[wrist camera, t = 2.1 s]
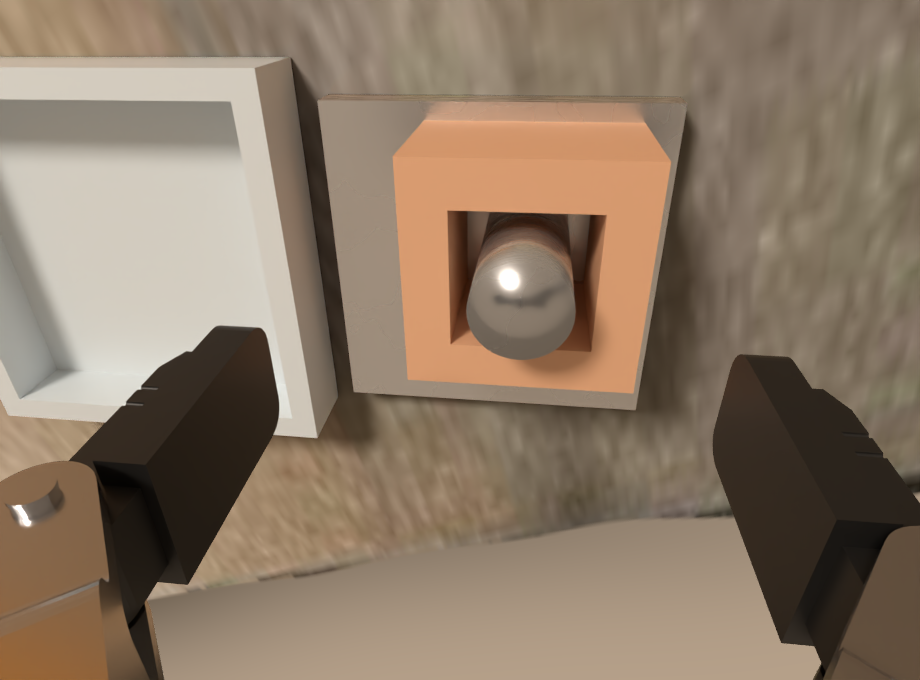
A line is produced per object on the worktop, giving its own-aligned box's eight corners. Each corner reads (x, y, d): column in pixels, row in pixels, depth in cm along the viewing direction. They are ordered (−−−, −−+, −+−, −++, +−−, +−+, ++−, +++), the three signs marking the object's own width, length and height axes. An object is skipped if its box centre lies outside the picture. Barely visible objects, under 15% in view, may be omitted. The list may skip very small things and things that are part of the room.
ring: (645, 123, 16) (671, 161, 13) (618, 319, 19) (633, 393, 16) (424, 120, 17) (392, 156, 13) (431, 310, 20) (407, 379, 17)
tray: (290, 57, 17) (254, 68, 15) (338, 396, 24) (317, 438, 21) (-83, 56, 19) (-164, 66, 17) (54, 377, 25) (8, 415, 23)
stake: (680, 97, 17) (746, 156, 11) (632, 393, 22) (660, 534, 16) (328, 94, 18) (229, 147, 12) (360, 376, 23) (301, 503, 17)
